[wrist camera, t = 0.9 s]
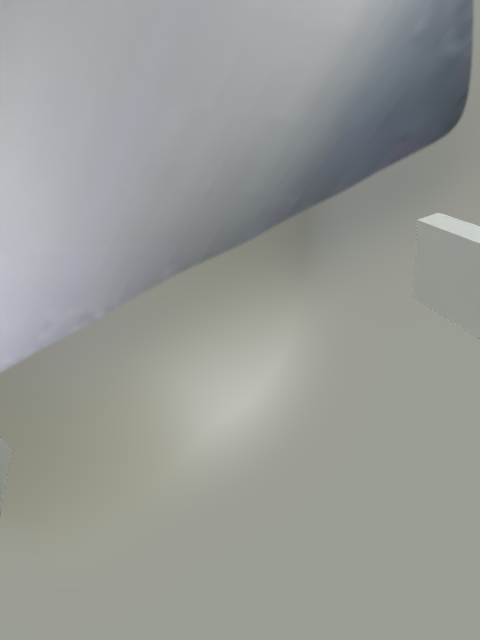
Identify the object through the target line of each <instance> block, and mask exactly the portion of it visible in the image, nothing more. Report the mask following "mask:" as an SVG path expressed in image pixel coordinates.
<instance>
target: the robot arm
mask: <svg viewBox="0 0 480 640" xmlns="http://www.w3.org/2000/svg"><path fill="white" fill-rule="evenodd" d="M412 298H414V299H415V300H417V301H418V302H420V303H422V304H423V305H425V306H427V307H428V308H430V309H431V310H433V311H435V312H436V313H438V314H440V315H441V316H443V317H444V318H446V319H448V320H450V321H451V322H453V323H455V324H456V325H457V326H459V327H461V328H462V329H464V330H466V331H468V332H469V333H471V334H472V335H474V336H475V337H477V338H479V339H480V226H477V225H474V224H471V223H468V222H465V221H462V220H459V219H456V218H453V217H450V216H447V215H444V214H441V213H436V214H433V215H430V216H427V217H424V218H422V219H419V220H417V233H416V248H415V264H414V279H413V294H412ZM11 454H12V451H11V450H10V449H9V447H8V446H7V445H6V444H5V443H4V441H3V440H2V439H1V437H0V515H1V509H2V504H3V499H4V493H5V487H6V482H7V476H8V471H9V465H10V460H11Z"/></svg>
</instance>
